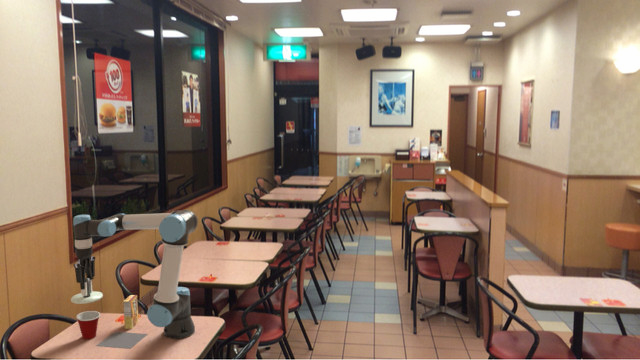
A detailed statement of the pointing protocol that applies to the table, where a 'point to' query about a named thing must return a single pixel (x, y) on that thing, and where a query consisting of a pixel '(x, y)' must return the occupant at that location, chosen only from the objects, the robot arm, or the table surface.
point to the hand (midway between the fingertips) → (86, 293)
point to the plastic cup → (88, 323)
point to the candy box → (130, 311)
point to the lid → (90, 296)
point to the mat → (122, 340)
